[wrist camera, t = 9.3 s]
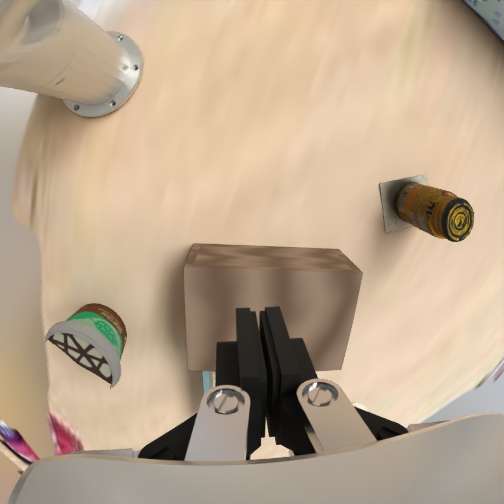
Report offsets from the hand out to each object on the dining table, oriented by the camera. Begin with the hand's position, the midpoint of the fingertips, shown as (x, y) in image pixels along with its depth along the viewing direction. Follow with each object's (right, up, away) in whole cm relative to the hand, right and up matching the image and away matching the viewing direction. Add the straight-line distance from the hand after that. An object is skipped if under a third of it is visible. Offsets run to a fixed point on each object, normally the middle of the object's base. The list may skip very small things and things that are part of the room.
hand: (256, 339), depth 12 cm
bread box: (+2, -3, +33) cm, 33 cm away
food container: (-23, -7, +33) cm, 41 cm away
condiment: (+22, +11, +30) cm, 39 cm away
